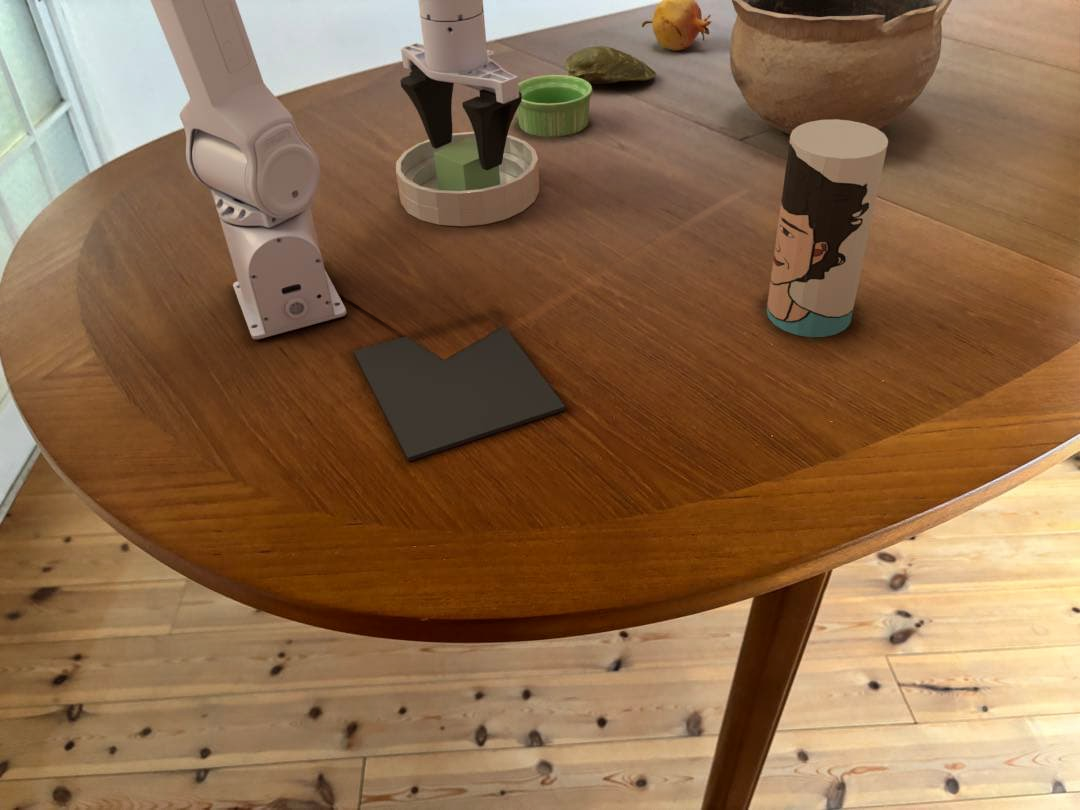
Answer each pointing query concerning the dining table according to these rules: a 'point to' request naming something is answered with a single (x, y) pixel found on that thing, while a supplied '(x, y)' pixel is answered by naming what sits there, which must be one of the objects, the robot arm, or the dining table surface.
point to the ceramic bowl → (834, 58)
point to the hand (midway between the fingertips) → (466, 155)
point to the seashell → (606, 66)
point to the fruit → (678, 23)
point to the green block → (463, 168)
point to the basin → (467, 205)
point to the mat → (455, 391)
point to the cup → (824, 225)
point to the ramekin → (554, 105)
